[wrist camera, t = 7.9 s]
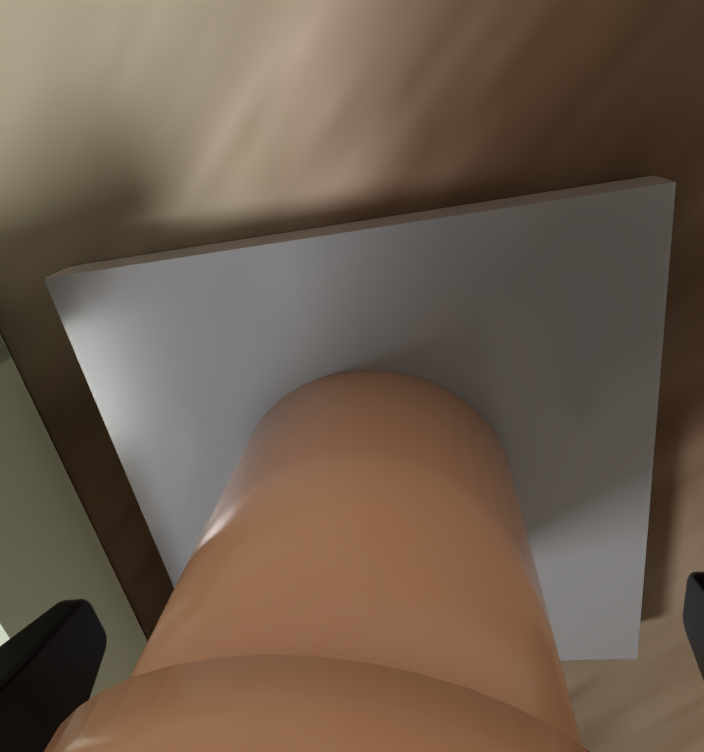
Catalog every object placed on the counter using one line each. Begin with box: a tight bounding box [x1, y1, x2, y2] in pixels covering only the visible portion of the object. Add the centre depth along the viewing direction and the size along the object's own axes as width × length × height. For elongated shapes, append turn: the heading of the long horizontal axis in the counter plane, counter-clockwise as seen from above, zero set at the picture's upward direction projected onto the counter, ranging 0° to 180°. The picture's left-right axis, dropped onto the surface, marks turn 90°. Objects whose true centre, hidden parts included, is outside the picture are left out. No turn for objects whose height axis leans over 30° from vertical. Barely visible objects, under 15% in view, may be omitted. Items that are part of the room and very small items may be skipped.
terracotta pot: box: [44, 370, 590, 752], centre depth 7 cm, size 6×6×7 cm
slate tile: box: [44, 175, 676, 660], centre depth 11 cm, size 10×10×1 cm
